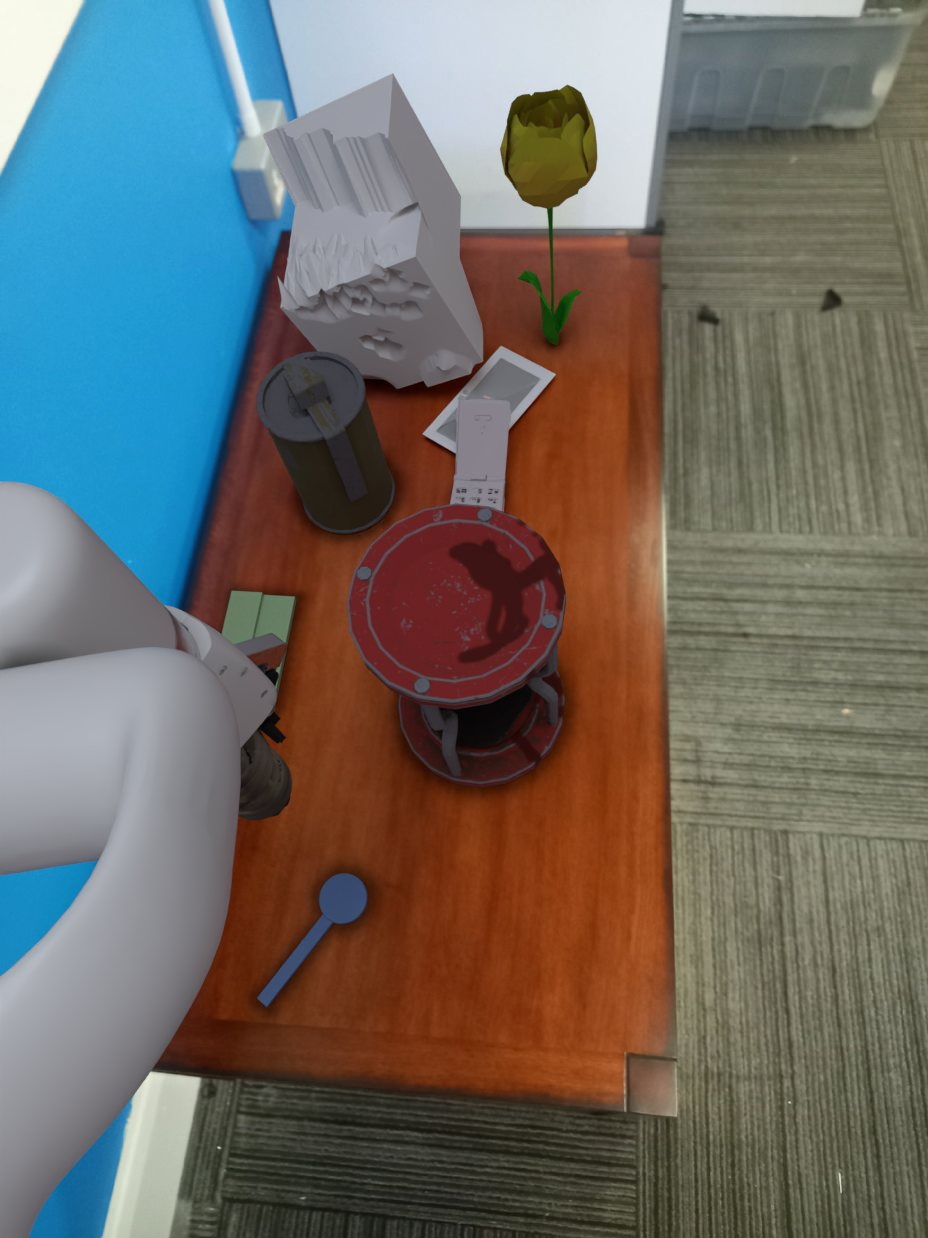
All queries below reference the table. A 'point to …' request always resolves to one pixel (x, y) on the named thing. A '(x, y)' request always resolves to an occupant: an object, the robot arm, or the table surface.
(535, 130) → the flower
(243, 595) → the towel
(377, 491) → the canister
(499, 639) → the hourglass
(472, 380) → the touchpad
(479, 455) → the mobile phone
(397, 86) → the grey carved stone block
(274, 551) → the table surface
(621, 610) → the table surface
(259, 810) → the grey spiral shell
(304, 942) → the spoon
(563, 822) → the table surface
